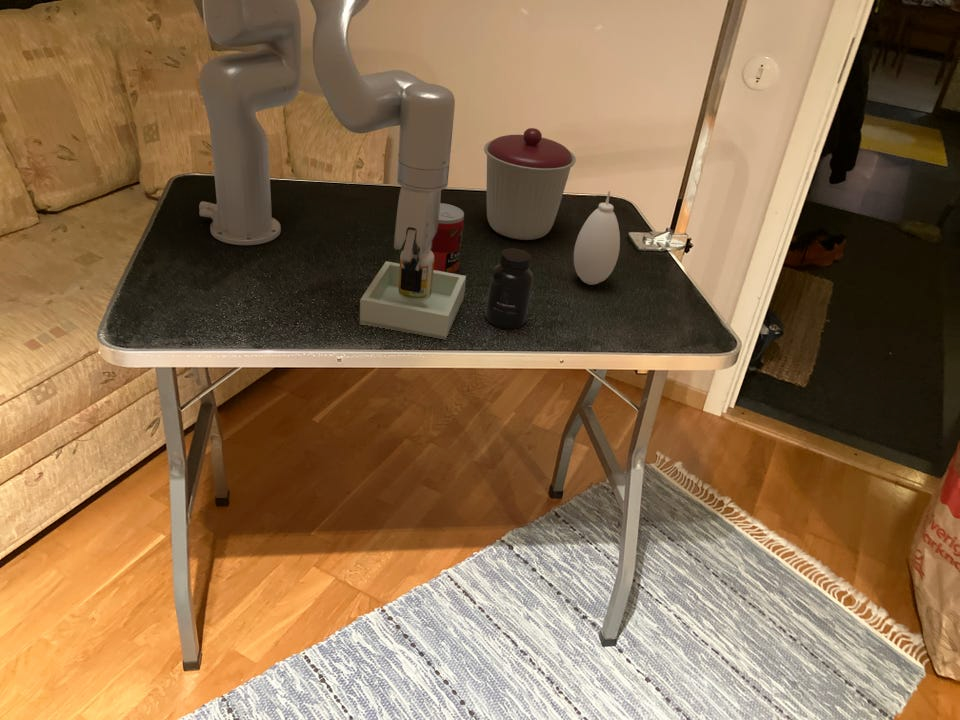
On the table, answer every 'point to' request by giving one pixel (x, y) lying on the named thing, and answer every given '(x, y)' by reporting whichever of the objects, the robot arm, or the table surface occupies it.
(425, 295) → the supplement bottle
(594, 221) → the air blower bulb
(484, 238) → the table surface
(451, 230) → the canned food
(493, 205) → the canister
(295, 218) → the table surface
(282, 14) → the robot arm
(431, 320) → the bin
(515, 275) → the supplement bottle
